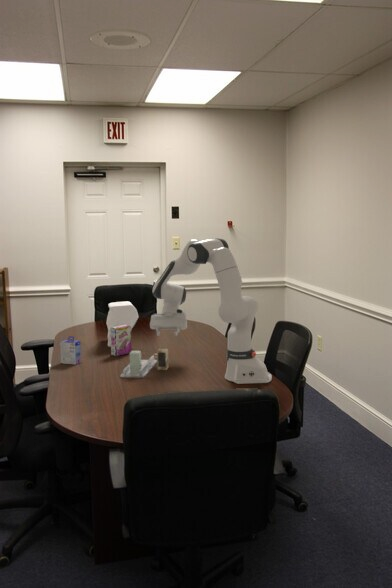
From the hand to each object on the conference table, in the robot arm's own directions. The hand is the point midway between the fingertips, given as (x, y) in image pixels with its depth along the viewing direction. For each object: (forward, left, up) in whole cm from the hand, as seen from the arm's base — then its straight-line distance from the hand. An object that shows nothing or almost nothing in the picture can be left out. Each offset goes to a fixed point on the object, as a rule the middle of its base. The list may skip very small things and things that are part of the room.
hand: (166, 335), depth 263 cm
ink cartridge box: (+53, +5, -15) cm, 55 cm away
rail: (+12, +13, -15) cm, 23 cm away
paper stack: (+37, -41, -15) cm, 57 cm away
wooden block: (0, +11, -15) cm, 19 cm away
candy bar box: (+30, -15, -15) cm, 37 cm away
